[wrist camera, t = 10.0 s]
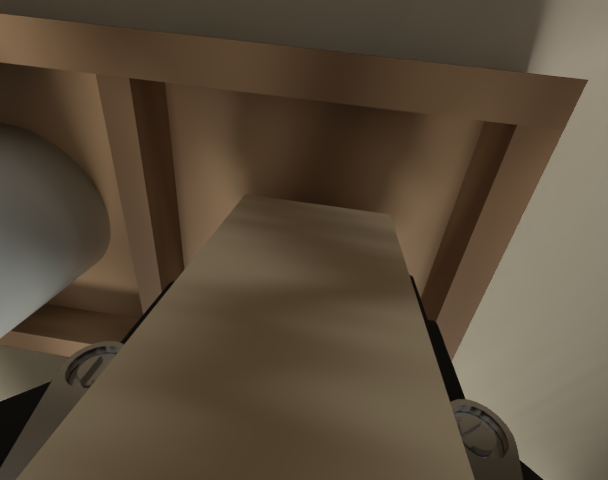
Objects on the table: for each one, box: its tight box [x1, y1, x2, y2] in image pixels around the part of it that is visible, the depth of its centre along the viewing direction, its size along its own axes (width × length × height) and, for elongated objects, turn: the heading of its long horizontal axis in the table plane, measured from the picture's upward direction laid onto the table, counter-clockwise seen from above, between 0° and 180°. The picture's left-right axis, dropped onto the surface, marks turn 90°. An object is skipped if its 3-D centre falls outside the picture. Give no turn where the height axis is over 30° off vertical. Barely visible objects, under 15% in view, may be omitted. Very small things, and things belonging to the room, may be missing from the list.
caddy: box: [0, 14, 588, 361], centre depth 13 cm, size 25×14×3 cm, turn 84°
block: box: [16, 194, 475, 480], centre depth 8 cm, size 5×5×9 cm
